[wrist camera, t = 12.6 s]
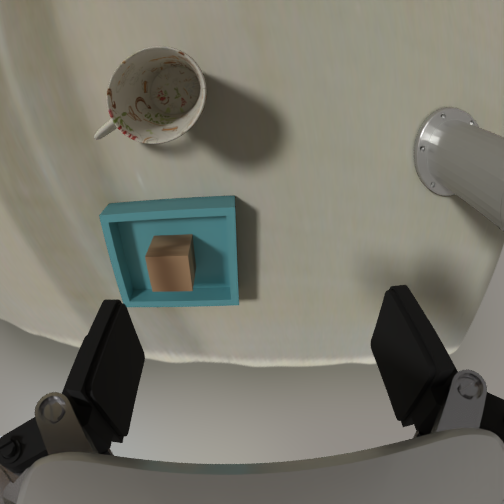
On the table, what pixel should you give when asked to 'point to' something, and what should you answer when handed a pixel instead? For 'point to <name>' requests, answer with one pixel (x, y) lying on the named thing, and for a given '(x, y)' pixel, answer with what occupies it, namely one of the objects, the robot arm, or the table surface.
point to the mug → (155, 96)
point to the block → (171, 263)
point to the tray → (174, 223)
